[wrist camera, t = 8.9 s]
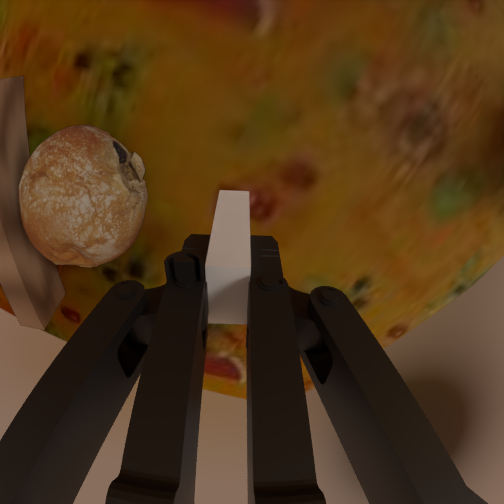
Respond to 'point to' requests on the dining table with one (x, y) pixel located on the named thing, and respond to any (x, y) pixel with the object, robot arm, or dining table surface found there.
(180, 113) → the dining table surface
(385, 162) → the dining table surface
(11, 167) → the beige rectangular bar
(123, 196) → the bread roll
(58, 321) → the dining table surface
